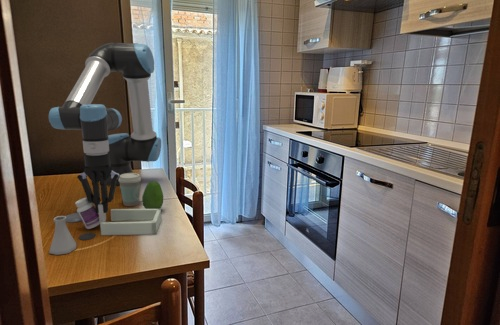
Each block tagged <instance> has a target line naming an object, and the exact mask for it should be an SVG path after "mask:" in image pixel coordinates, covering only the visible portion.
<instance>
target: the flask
mask: <svg viewBox="0 0 500 325" xmlns="http://www.w3.org/2000/svg"><path fill="white" fill-rule="evenodd" d="M66 216H67V215H58V216H56V217H55V216H54V217H53V222H54V225H55V227H54V233H53V237H52V242H51V244H50V248H49V251H48V254H50V255H56V256H58V255H65V254H70V253H72V252H73V251H75V250H76V249H77V244H78V243H77V242H76V240H75V239H74V238H73V235H72V234H71V232H70V230H69V228H68V226H67V222H66V221H65V220H66Z"/></svg>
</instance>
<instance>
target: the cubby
mask: <svg viewBox="0 0 500 325" xmlns="http://www.w3.org/2000/svg"><path fill="white" fill-rule="evenodd" d="M110 220H111V221H105V222H101V223H100V224H99V226H100V234H101V235H100V236H124V235H125V236H128V235H139V236H140V235H157V232H158V229H159V228H160V227H159V226H160V224H161V221H162V208H160V209H145V208H111V209H110Z"/></svg>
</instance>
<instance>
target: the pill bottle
mask: <svg viewBox="0 0 500 325" xmlns="http://www.w3.org/2000/svg"><path fill="white" fill-rule="evenodd" d="M75 206H76V208H77V209H76V213H78V215H79V216H80V218H81V220H82V221H81V222H82V223H83V225H84V227H85V229H87V230H91V229H93V228H96V227H98V226H100V224H101V223H100V221H99V213H96V210H95V204H94V203H89V202H88V199H87V197H82V198H80V199H79V200H77V201H75Z"/></svg>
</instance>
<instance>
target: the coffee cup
mask: <svg viewBox="0 0 500 325" xmlns="http://www.w3.org/2000/svg"><path fill="white" fill-rule="evenodd" d="M140 175H141V174H139V173H137V172H133V173H125V174H121V175H120V177H119V180H118V181H119V183H120V185H119V188H120V191H121V192H120V194H121V198H122V202H123V203H122V204H123V206H125V207H133V206H134V207H135V206H137V205H139V202H140V192H141V191H140V188H141V180H142V177H141V176H140Z"/></svg>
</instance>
